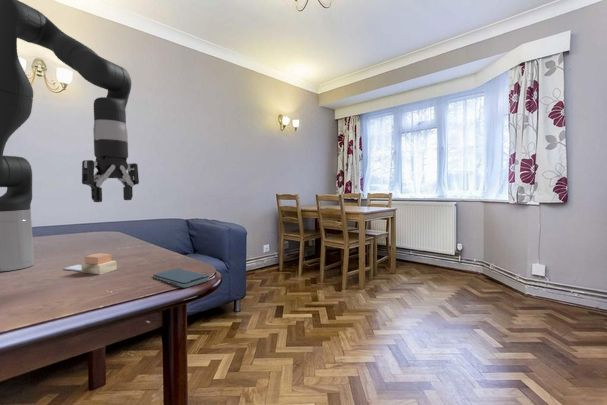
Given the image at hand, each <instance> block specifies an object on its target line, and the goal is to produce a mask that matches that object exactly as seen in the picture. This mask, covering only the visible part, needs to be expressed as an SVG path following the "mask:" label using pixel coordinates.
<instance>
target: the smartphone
mask: <svg viewBox="0 0 607 405" xmlns="http://www.w3.org/2000/svg"><path fill="white" fill-rule="evenodd" d="M152 277H154V278H153V279H155V278H157V279H156V280H158V279H160V280H159V281H161V280H163V281H162V282H164V281H166V282H168V283H167V284H169V283H171V284H170V285H173V286H176V287H179V288H183V289H185V288H191V287H193V286H196V285H199V284H202V283H203V284H204V283H205V282H208V281H210V276H209V275H208V274H204V273H199V272H195V271H190V270H186V269H182V268H174V269H170V270H166V271H163V272H159V273H155V274H153V276H152ZM166 282H165V283H166Z"/></svg>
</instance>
